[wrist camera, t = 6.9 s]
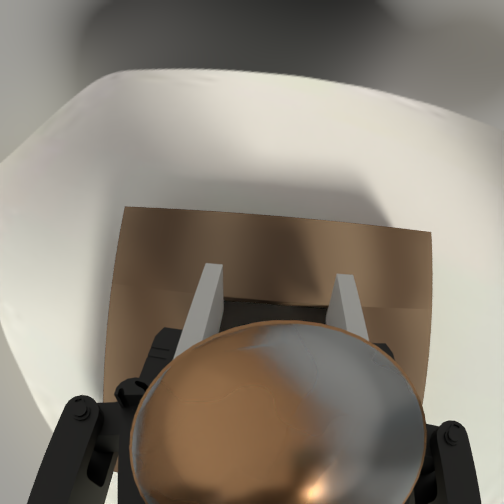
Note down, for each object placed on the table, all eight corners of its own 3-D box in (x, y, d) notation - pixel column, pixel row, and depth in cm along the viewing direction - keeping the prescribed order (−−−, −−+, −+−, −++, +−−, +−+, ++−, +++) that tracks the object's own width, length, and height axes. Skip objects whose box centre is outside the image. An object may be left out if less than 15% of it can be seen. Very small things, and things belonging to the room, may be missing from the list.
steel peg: (313, 322, 19) (444, 324, 5) (305, 402, 18) (389, 558, 4) (230, 316, 20) (136, 303, 5) (223, 396, 19) (135, 546, 4)
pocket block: (404, 247, 21) (431, 232, 17) (382, 467, 18) (402, 490, 14) (146, 225, 22) (124, 206, 18) (128, 447, 18) (104, 468, 14)
